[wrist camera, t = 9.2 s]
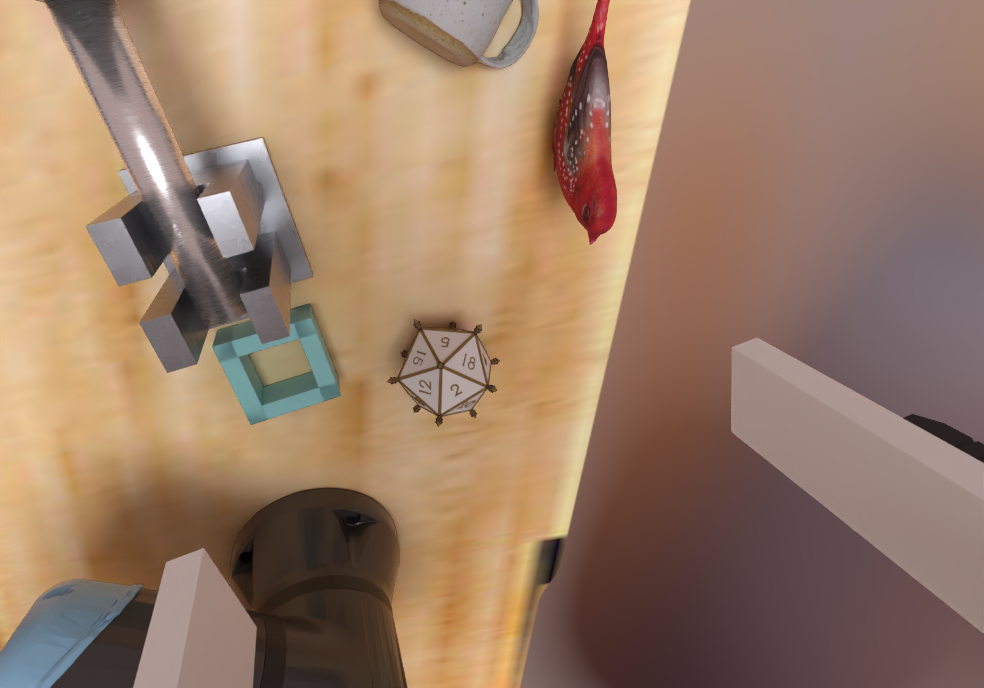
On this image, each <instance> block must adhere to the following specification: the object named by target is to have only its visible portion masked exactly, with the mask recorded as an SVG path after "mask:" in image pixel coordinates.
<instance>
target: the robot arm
mask: <svg viewBox="0 0 984 688" xmlns="http://www.w3.org/2000/svg"><path fill="white" fill-rule="evenodd" d="M731 401H732V403H731V405H732V407H731V409H732V410H731V432H733V433H734V434H735V435H736V436H737V437H739V438H740V439H741V440H743V441H744V442H745V443H746V444H748V445H749V446H750V447H751V448H753V449H754V450H755V451H756V452H757V453H759V454H760V455H761V456H762V457H764V458H765V459H766V460H767V461H769V462H770V463H771V464H772V465H774V466H775V467H776V468H777V469H779V470H780V471H781V472H783V473H784V474H785V475H786V476H787V477H789V478H790V479H792V481H794V482H795V483H796V484H797V485H799V486H800V487H801V488H802V489H804V490H805V491H806V492H807V493H809V494H810V495H811V496H812V497H814V498H815V499H816V500H817V501H819V502H820V503H821V504H822V505H824V506H825V507H827V509H829V510H830V511H831V512H832V513H834V514H835V515H836V516H837V517H839V518H840V519H841V520H843V521H844V522H845V523H846V524H847V525H849V526H850V527H851V528H852V529H854V530H855V531H856V532H857V533H859V534H860V535H861V536H862V537H864V538H865V539H866V540H867V541H869V542H870V543H871V544H872V545H874V546H875V547H876V548H877V549H879V550H880V551H881V552H882V553H884V554H885V555H886V556H887V557H889V558H890V559H891V560H892V561H894V562H895V563H896V564H897V565H899V566H900V567H901V568H902V569H904V570H905V571H906V572H907V573H909V574H910V575H911V576H912V577H914V578H915V579H916V580H917V581H919V582H920V583H921V584H922V585H924V586H925V587H926V588H927V589H929V590H930V591H931V592H933V593H934V594H935V595H936V596H937V597H939V598H940V599H941V600H942V601H944V602H945V603H946V604H947V605H949V606H950V607H951V608H952V609H954V610H955V611H956V612H957V613H959V614H960V615H961V616H962V617H964V618H965V619H966V620H967V621H969V622H970V623H971V624H972V625H974V626H975V627H976V628H977V629H979V630H980V631H981V632H982V633H984V444H982V443H980V442H979V441H978V442H974V441H973V440H972V438H971V437H969V436H967V435H965V434H963V433H961V432H959V431H958V430H956V429H954V428H952V427H950V426H948V425H946V424H944V423H941V422H938V421H934V420H931V419H928V418H924V417H921V416H918V415H914V414H911V415H909V416H907V417H905V418H901V417H900V416H898V415H896V414H894V413H892V412H891V411H888V410H887V409H885V408H883V407H882V406H880V405H878V404H876V403H874V402H872V401H871V400H869V399H867V398H865V397H863V396H862V395H860V394H858V393H856V392H854V391H853V390H851V389H849V388H847V387H845V386H843V385H842V384H840V383H838V382H836V381H835V380H833V379H831V378H829V377H827V376H826V375H824V374H822V373H820V372H818V371H817V370H815V369H813V368H811V367H809V366H807V365H805V364H804V363H802V362H800V361H798V360H797V359H795V358H793V357H791V356H789V355H787V354H786V353H784V352H782V351H780V350H778V349H777V348H775V347H773V346H771V345H769V344H768V343H766V342H764V341H762V340H761V339H759V338H755V339H753V340H750V341H747V342H745V343H742V344H740V345H737V346H734V347H732V398H731ZM399 560H400V547H399V541H398V537H397V532H396V528H395V524H394V522H393V520H392V518H391V516H390V515H389V513H388V512H387V511H386V510H385V509H384V508H383V507H382V506H381V505H380V504H379V503H377V502H376V501H374V500H373V499H371V498H369V497H367V496H365V495H363V494H360V493H357V492H353V491H349V490H343V489H315V490H308V491H303V492H299V493H296V494H293V495H290V496H287V497H284V498H282V499H280V500H278V501H276V502H274V503H272V504H270V505H269V506H267V507H265V508H264V509H263V510H261V511H260V512H259V513H257V514H256V515H255V516H254V517H253V518H252V519H251V520H250V521H249V522H248V523H247V524H246V525H245V527H244V528H243V529H242V531H241V532H240V534H239V536H238V537H237V540H236V542H235V544H234V548H233V552H232V559H231V566H230V585H231V588H230V586H229V585H228V583H227V582H226V580H225V579H224V577H223V576H222V574H221V573H220V571H219V570H218V568H217V567H216V565H215V564H214V562H213V561H212V559H211V558H210V556H209V555H208V553H207V552H206V550H205V549H204V548H202V549H199V550H197V551H194V552H191V553H189V554H186V555H184V556H181V557H178V558H176V559H173V560H170V561H168V562H166V565H165V568H164V572H163V576H162V580H161V584H160V587H159V591H155V590H150V589H146V588H142V587H143V585H140V584H134V585H132V586H129V585H121V584H114V583H107V582H99V581H93V580H87V579H72V580H68V581H64V582H61V583H59V584H57V585H55V586H53V587H51V588H50V589H48V590H47V591H46V592H44V593H43V594H42V595H41V596H40V597H39V598H38V599H37V600H36V602H35V603H34V604H33V606H32V607H31V609H30V610H29V611H28V613H27V614H26V616H25V617H24V619H23V620H22V622H21V623H20V625H19V626H18V627H17V629H16V630H15V632H14V633H13V635H12V636H11V638H10V639H9V641H8V642H7V643H6V645H5V646H4V648H3V649H2V651H1V652H0V688H407V683H406V678H405V673H404V668H403V663H402V658H401V653H400V648H399V643H398V638H397V633H396V628H395V623H394V618H393V613H392V607H391V602H392V597H393V592H394V587H395V582H396V576H397V571H398V566H399Z"/></svg>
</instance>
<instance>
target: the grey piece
mask: <svg viewBox="0 0 984 688" xmlns="http://www.w3.org/2000/svg"><path fill="white" fill-rule="evenodd" d="M37 1H40V2H44V3H45V5H46V7H47V9H48V11H49V13H50V15H51V17H52V19H53V21H54V23H55V25H56V27H57V29H58V31H59V33H60V35H61V37H62V39H63V41H64V43H65V45H66V47H67V49H68V51H69V53H70V55H71V57H72V59H73V61H74V63H75V65H76V67H77V69H78V71H79V73H80V75H81V78H82V80H83V82H84V84H85V86H86V88H87V90H88V92H89V94H90V96H91V98H92V100H93V102H94V104H95V106H96V108H97V110H98V112H99V114H100V116H101V118H102V120H103V122H104V124H105V126H106V128H107V130H108V132H109V134H110V136H111V138H112V140H113V142H114V144H115V146H116V148H117V150H118V152H119V154H120V156H121V158H122V160H123V162H124V164H125V166H126V168H127V170H128V172H129V174H130V176H131V178H132V180H133V182H134V184H135V186H136V188H137V191H138V193H139V195H140V197H141V199H142V201H143V203H144V205H145V207H146V209H147V211H148V213H149V215H150V217H151V219H152V221H153V223H154V225H155V227H156V229H157V231H158V233H159V235H160V237H161V239H162V241H163V243H164V245H165V247H166V249H167V251H168V253H169V255H170V257H171V259H172V261H173V263H174V265H175V267H176V269H177V271H178V273H179V275H180V277H181V279H182V281H183V283H184V285H185V287H186V289H187V291H188V293H189V295H190V297H191V299H192V301H193V304H194V306H195V308H196V310H197V312H198V314H199V316H200V318H201V320H202V322H203V324H204V325H207V326H214V325H220V324H224V323H227V322H230V321H233V320H235V319H237V318H239V317H241V316H243V315H244V314H245V313H247V310H246V308H245V306H244V303H243V301H242V299H241V297H240V291H241V286H240V283H239V281H238V279H237V277H236V274H235V272H234V270H233V268H232V265H231V263H230V261H229V258H228V257H227V258H223V256H222V254H221V252H220V250H219V247H218V245H217V243H216V241H215V239H214V236H213V234H212V232H211V230H210V227H209V225H208V223H207V221H206V218H205V216H204V214H203V212H202V209H201V207H200V205H199V203H198V200H197V198H198V197H199V196H200V193H199V191H198V188H197V186H196V184H195V182H194V179H193V177H192V175H191V173H190V170H189V168H188V166H187V163H186V161H185V159H184V157H183V154H182V152H181V150H180V148H179V145H178V143H177V141H176V139H175V136H174V134H173V132H172V130H171V127H170V125H169V123H168V120H167V118H166V116H165V114H164V111H163V109H162V107H161V105H160V102H159V100H158V98H157V96H156V93H155V91H154V89H153V87H152V84H151V82H150V80H149V77H148V75H147V73H146V71H145V68H144V66H143V64H142V62H141V59H140V57H139V55H138V53H137V50H136V48H135V46H134V44H133V41H132V39H131V37H130V34H129V32H128V30H127V28H126V25H125V23H124V21H123V19H122V16H121V14H120V12H119V10H118V7H117V5H116V3H115V1H114V0H37Z"/></svg>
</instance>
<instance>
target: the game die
mask: <svg viewBox="0 0 984 688" xmlns="http://www.w3.org/2000/svg"><path fill="white" fill-rule="evenodd" d="M414 325H415V328H417V329H418V332H417V334H416V337H415V339H414V341H413V343H412V346H411V348H410V350H409V352H407V351H405V350H404V351H403V352H401V354H402V357H406V359H405V362H404V364H403V366H402V368H401V371H400V373H399V375H398V377H397V378H395V377H393V378H392V377H390V379H389V380H388V381H387V382H389V383H391V384H393V383H396V382H399V383H400V384H401V385H402V387H403V388H404V389H405V390H406V391H407V393H408V394H409V395H410V396H411V397H412V399H413V400H414V401H415V402H416V403H417V405H416V406H415V407H413V409H414V413H415V412H419V410H420V407H422V408H424V409H425V410H427V411H429V412H431V413H433V414H435V415H436V416H437V418H436V422H435V423H436V424H437V426H438V427H439V425H440V424H442V423H443V422H442V421H443V419H442V416H447V415H451V414H456V413H461V412H466V411H470V414H471V417H475V418H476V414H477V413H476V412H475V410H473V407H474V406H475V405H476V403H477V402H478V401H479V399H480V398H481V397H482V395H483V394H484V393H485V391H486V390H487V389H488V390H489V391H491V392H492V393H493V392H495V391H497V389H496V388H495V386H493V385H489V379H490V370H491V364H494V365H495V364H498V362H499V361H500V360H498V359H497V358H495V359H494V358H493V359H492V360H490V358H489V356H488V354H487V353H486V351H485V349H484V347H483V345H482V343H481V341H480V340H479V338H478V336H477V334H478V333H480V331H482V325H478V326H476V328H475V329H474V331H473V332H472V331H466V330H460V329H455V327H456V323H455V322H454V321H453V322H451V323H450V328H422V326H421V324H420V321H417V320H415V319H414Z"/></svg>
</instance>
